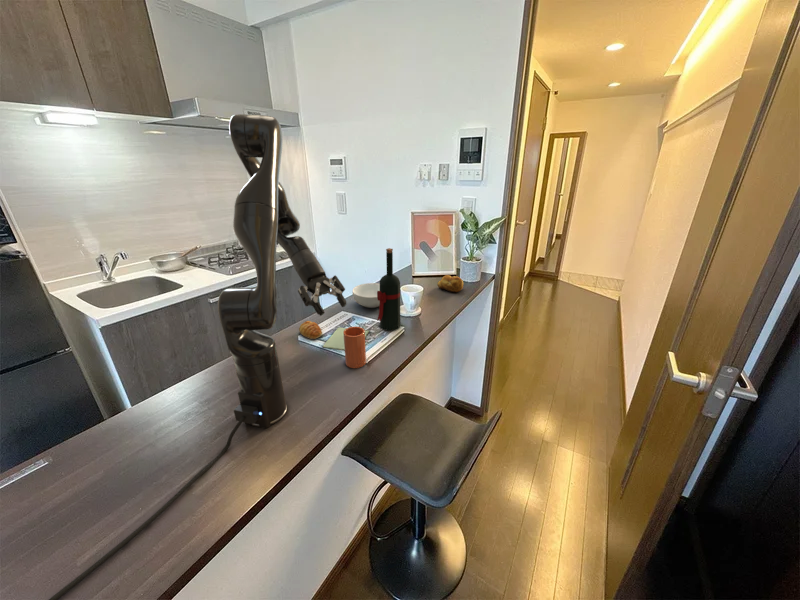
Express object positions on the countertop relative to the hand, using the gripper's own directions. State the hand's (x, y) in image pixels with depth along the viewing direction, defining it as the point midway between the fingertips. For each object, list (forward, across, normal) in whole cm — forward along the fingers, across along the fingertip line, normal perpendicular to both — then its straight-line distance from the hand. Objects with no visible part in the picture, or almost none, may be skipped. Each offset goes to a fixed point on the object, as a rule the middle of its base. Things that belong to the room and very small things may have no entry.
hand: (333, 309), depth 101 cm
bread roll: (+9, +73, +13) cm, 75 cm away
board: (+8, +8, +14) cm, 18 cm away
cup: (+17, 0, +5) cm, 18 cm away
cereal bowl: (-2, +35, +24) cm, 43 cm away
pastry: (-1, +2, +23) cm, 23 cm away
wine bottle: (+12, +24, +11) cm, 29 cm away
